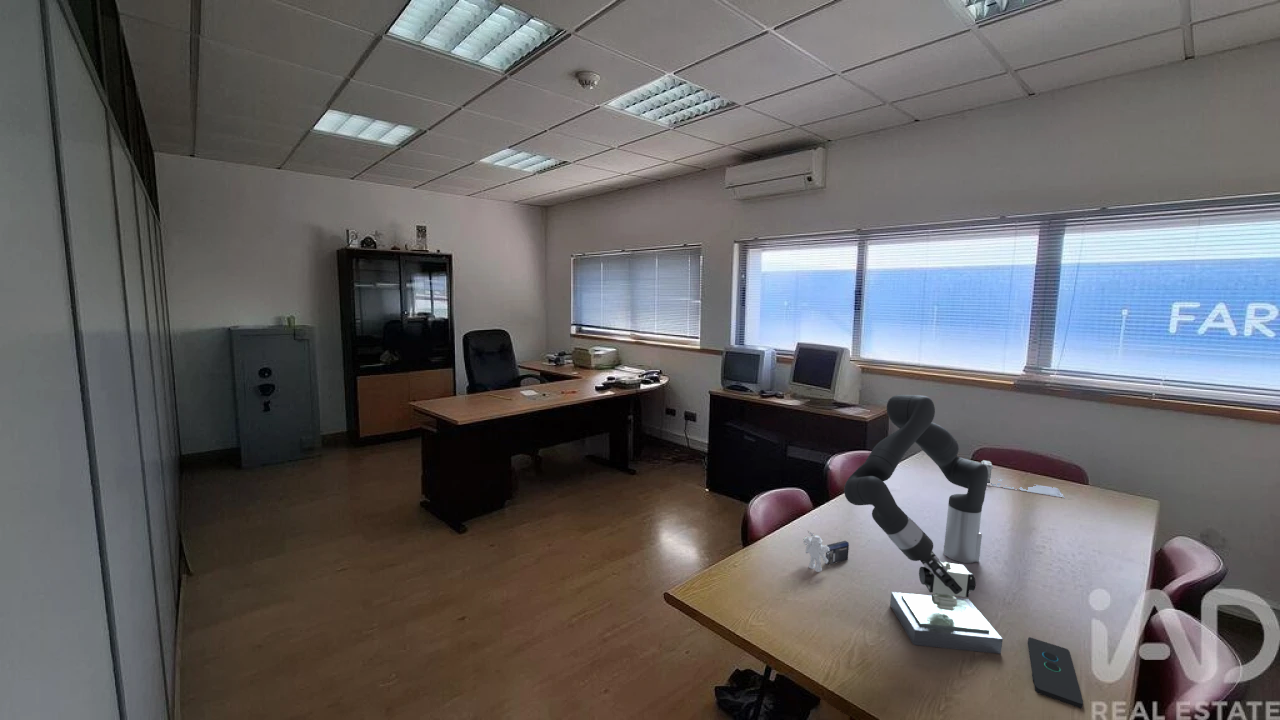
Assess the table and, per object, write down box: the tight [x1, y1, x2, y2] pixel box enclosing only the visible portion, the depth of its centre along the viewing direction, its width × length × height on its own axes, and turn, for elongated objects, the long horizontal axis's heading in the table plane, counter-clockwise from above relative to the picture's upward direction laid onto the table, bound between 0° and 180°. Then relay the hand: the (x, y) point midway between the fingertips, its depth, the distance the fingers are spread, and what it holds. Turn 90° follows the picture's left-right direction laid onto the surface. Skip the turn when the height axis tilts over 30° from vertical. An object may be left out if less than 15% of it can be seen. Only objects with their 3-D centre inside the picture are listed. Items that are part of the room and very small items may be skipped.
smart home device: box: [1027, 636, 1084, 709], centre depth 114 cm, size 8×2×20 cm
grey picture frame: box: [889, 591, 1003, 655], centre depth 129 cm, size 20×16×5 cm
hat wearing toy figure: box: [803, 530, 830, 573], centre depth 156 cm, size 9×4×12 cm, turn 35°
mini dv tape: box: [825, 540, 850, 565], centre depth 161 cm, size 8×2×6 cm, turn 114°
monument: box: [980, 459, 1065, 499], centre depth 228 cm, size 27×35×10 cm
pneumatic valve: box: [918, 560, 977, 611], centre depth 128 cm, size 6×12×12 cm, turn 78°
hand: (952, 584), depth 127 cm, fingers closed on pneumatic valve, 5 cm apart
